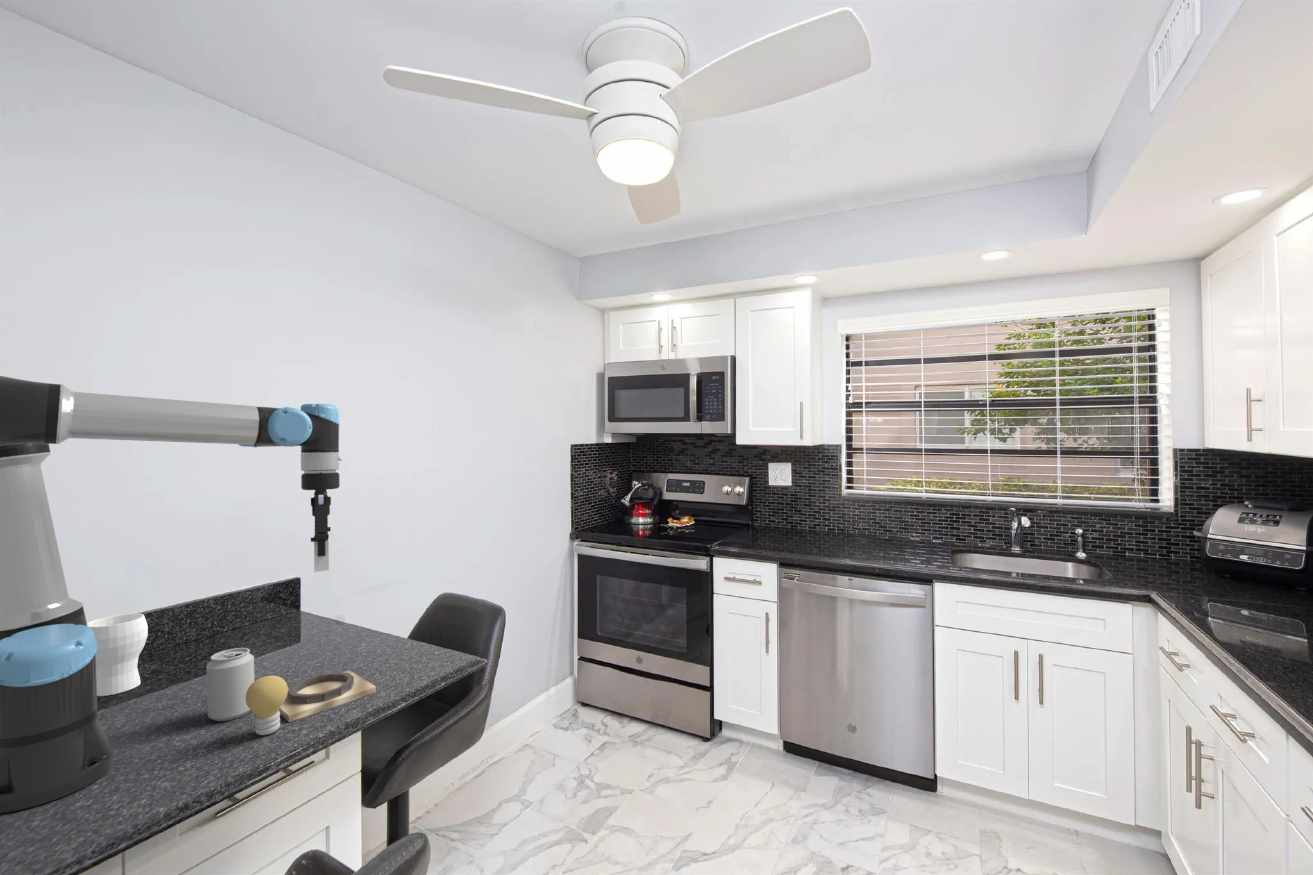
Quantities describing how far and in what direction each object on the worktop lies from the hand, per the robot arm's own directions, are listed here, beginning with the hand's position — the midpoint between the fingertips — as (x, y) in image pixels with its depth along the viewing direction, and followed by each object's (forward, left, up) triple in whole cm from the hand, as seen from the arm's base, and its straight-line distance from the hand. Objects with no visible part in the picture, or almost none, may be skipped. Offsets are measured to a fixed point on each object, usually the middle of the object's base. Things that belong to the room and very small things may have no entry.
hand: (321, 565), depth 131 cm
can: (-19, -7, -25) cm, 32 cm away
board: (-5, -13, -25) cm, 28 cm away
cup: (-32, +28, -25) cm, 49 cm away
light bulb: (-16, -21, -25) cm, 36 cm away
